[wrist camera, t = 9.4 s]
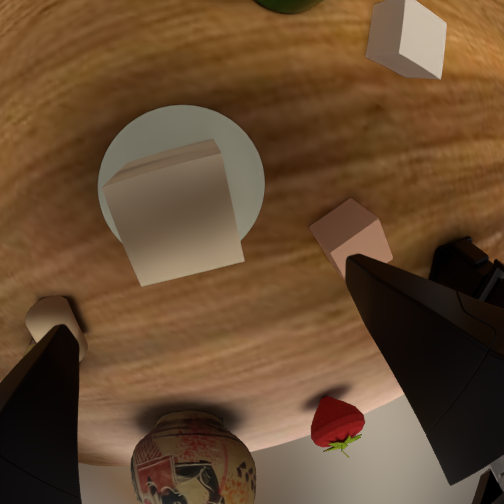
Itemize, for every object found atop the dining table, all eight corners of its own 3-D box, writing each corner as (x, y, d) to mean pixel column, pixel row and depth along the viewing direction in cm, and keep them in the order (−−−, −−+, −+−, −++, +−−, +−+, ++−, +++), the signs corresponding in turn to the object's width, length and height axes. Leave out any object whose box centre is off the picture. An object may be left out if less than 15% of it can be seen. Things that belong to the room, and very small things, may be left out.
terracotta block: (366, 234, 23) (392, 258, 19) (329, 261, 23) (350, 289, 20) (350, 197, 21) (378, 218, 17) (308, 226, 21) (330, 252, 18)
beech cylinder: (67, 290, 20) (84, 328, 23) (26, 304, 18) (46, 340, 21) (70, 321, 17) (91, 360, 20) (24, 337, 15) (48, 374, 17)
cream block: (405, 77, 16) (440, 79, 13) (364, 57, 15) (398, 53, 12) (412, 27, 14) (446, 23, 11) (372, 5, 13) (405, -6, 10)
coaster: (273, 241, 21) (274, 244, 21) (131, 276, 20) (130, 280, 20) (248, 88, 15) (249, 88, 15) (80, 135, 14) (77, 137, 14)
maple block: (230, 218, 19) (244, 261, 14) (152, 238, 19) (141, 286, 14) (213, 138, 16) (221, 153, 11) (127, 162, 16) (101, 187, 11)
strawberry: (352, 391, 36) (379, 445, 28) (307, 414, 37) (328, 469, 29) (344, 377, 33) (374, 438, 25) (293, 402, 34) (315, 465, 26)
